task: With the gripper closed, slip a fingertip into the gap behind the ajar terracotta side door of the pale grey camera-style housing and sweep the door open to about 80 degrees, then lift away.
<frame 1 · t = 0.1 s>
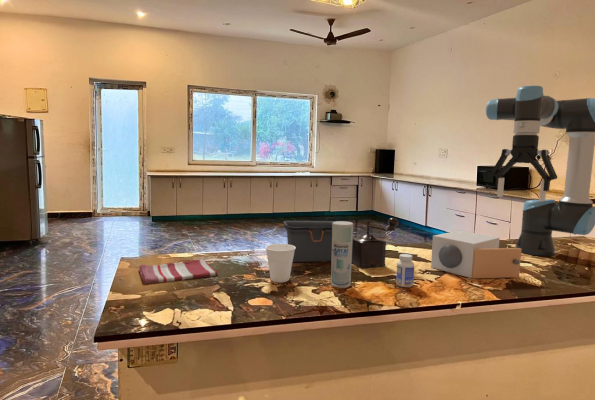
hand: (520, 198, 142), 28 cm above the counter, fingers open, 13 cm apart
storage bin: (311, 260, 165), on the counter
dark manual coffee grinder: (372, 264, 161), on the counter
dish towel: (177, 275, 144), on the counter
cup: (279, 280, 139), on the counter
pill bottle: (404, 285, 137), on the counter
spray can: (340, 285, 135), on the counter
side door: (497, 263, 145), point 5 cm above the counter, hinge at 30.0°
housing: (463, 268, 157), on the counter
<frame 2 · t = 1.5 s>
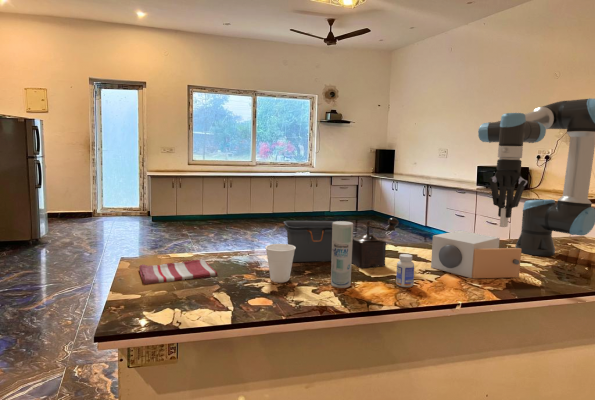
hand: (503, 226, 149), 17 cm above the counter, fingers closed
nothing on the counter moved.
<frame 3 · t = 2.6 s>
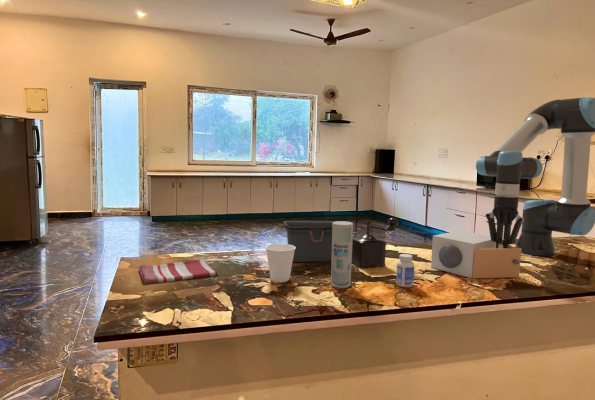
hand: (500, 262, 150), 4 cm above the counter, fingers closed
nothing on the counter moved.
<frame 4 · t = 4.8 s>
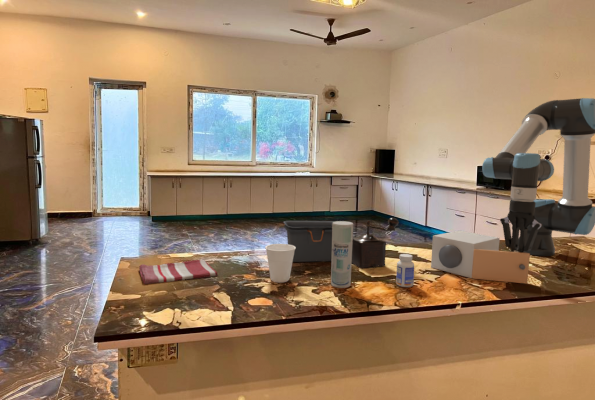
hand: (516, 269, 143), 4 cm above the counter, fingers closed
side door: (500, 266, 141), point 5 cm above the counter, hinge at 53.8°, touching gripper
everything else where it was.
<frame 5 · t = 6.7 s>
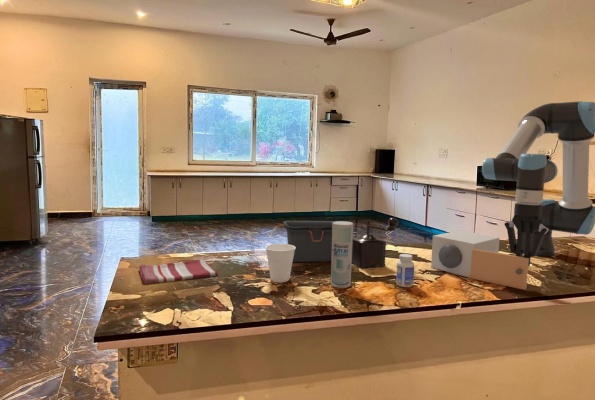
hand: (521, 276, 136), 4 cm above the counter, fingers closed
side door: (497, 268, 138), point 5 cm above the counter, hinge at 79.6°, touching gripper
everything else where it was.
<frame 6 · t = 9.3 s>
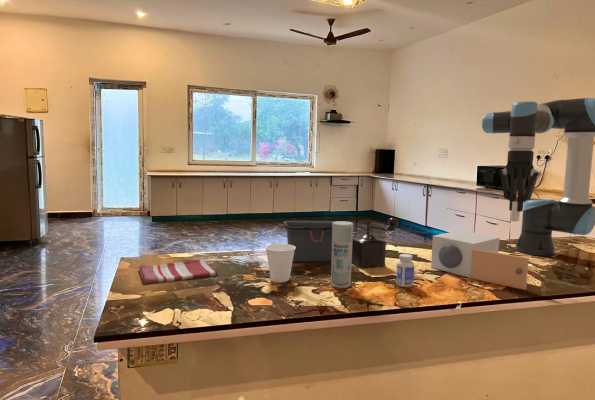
hand: (514, 220, 142), 20 cm above the counter, fingers closed
side door: (497, 268, 138), point 5 cm above the counter, hinge at 79.6°
everything else where it was.
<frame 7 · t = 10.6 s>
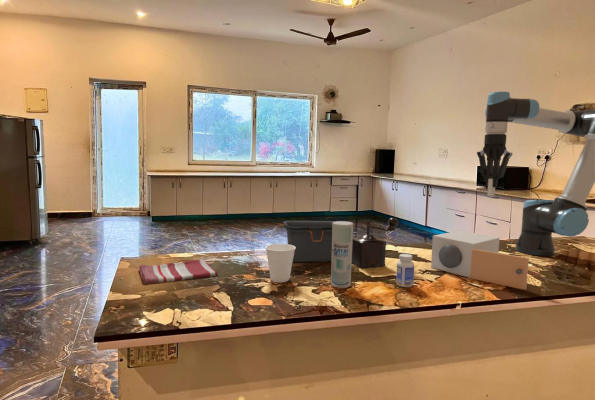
hand: (490, 195, 164), 26 cm above the counter, fingers closed
nothing on the counter moved.
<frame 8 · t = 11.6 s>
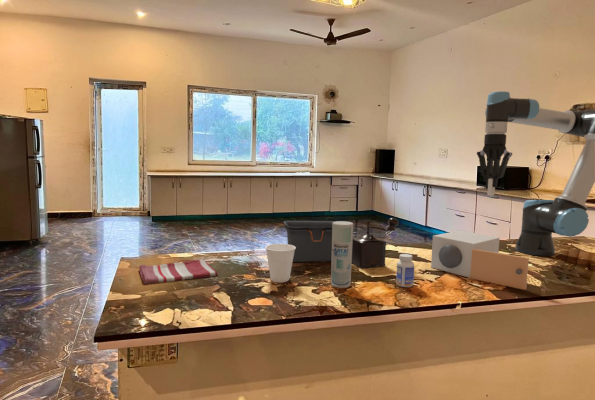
hand: (490, 195, 164), 26 cm above the counter, fingers closed
nothing on the counter moved.
at the end: side door at +80° (first picture: +30°); pill bottle moved 0.2 cm from its start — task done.
